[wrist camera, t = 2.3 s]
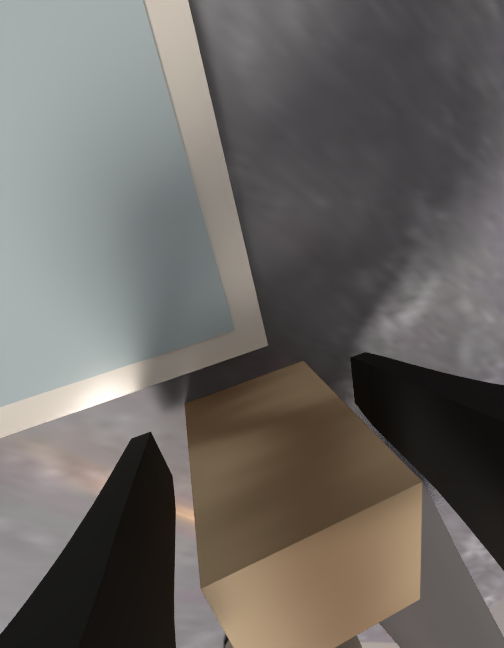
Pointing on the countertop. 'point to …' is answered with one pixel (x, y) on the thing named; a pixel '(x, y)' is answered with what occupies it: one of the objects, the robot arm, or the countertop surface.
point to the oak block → (299, 514)
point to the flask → (443, 597)
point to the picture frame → (111, 209)
